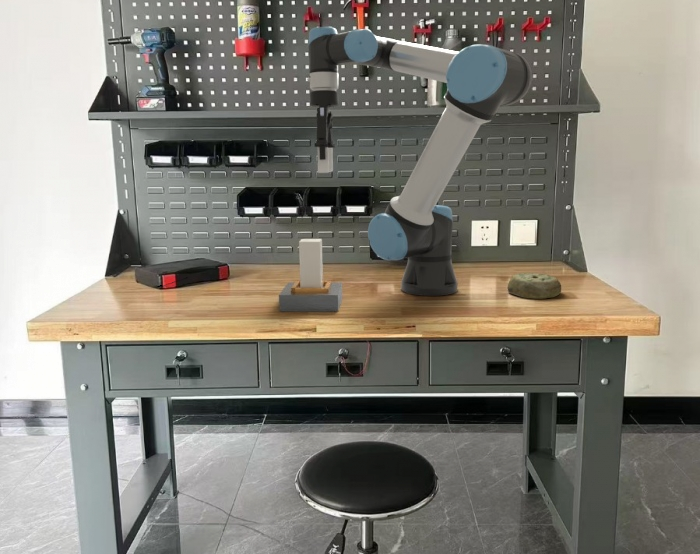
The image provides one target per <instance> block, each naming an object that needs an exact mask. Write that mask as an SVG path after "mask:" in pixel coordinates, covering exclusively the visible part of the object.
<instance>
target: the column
mask: <svg viewBox="0 0 700 554" xmlns="http://www.w3.org/2000/svg"><path fill="white" fill-rule="evenodd" d="M298 248H299V249H298V250H299V252H298V253H299V256H298V257H299V281H300V288H322V287H323V281H324V275H323V274H324V272H323V270H324V269H323V267H324V266H323V238H300V240H299V241H298Z"/></svg>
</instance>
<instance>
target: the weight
mask: <svg viewBox="0 0 700 554" xmlns="http://www.w3.org/2000/svg"><path fill="white" fill-rule="evenodd" d="M507 292H508V293H509V294H511V295H515V296H517V297H519V298H523V299H535V300H544V299H549V298H552V299H553V298H555V297H557V296H558V295H560V294H561V293H562V284H561V282H560V281H559V279H558V278H557V277H555V276H554V275H549V274H545V273H537V272H536V273H535V272H534V273H533V272H523V273H516V274H514V275H512V276H511V277H510V279H509V280H508V283H507Z"/></svg>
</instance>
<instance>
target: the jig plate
mask: <svg viewBox="0 0 700 554" xmlns="http://www.w3.org/2000/svg"><path fill="white" fill-rule="evenodd" d="M342 300H343V282H333V281H332V280H323V287H322V288H300V280H295V282H287V284H286V285H285V286H284V288H283V289H282V290H281V291H280V293H279V294H278V306H279V307H278V309H279V312H311V313H312V312H314V313H315V312H316V313H317V312H319V313H320V312H329V313H330V311H333V312H332V313H335V312H334V311H338V312H339V310H340V307H341V303H342Z"/></svg>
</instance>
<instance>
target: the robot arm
mask: <svg viewBox="0 0 700 554" xmlns="http://www.w3.org/2000/svg"><path fill="white" fill-rule="evenodd" d="M307 48H308V59H309V60H308V61H309V62H308V65H309V66H308V67H309V77H307V79H306V80H307V82H309V88H310V90H312V91H310V93H309V102H310V104H309V105H310V106H311V107H316V108H317V109H316V141H315V142H314V148H317V174H329V172H333V171H334V161H333V160H334V157H333V155H334V154H333V148H336V143H334V142H333V117H334V115H333V113H332V111H331V109H330V107H333V108H334V107H337V106H339V92H338V91H337V90H339V66H341V65H349V64H354V65H361V66H366V67H367V66H368V67H374V68H378V69H384V70H389V71H393V72H398V73H403V74H407V75H411V76H416V77H418V78H424V79H429V80H432V81H437V82H441V83H445V84H446V88H447V90H446V92H445V93H444V96H443V99H444V102H445V105H446V107H445V108H444V110H443V112H442V115H441V116H440V118H439V120H438V122H437V124H436V126H435V128H434V129H433V131H432V134H431V136H430V137H429V140H428V141H427V143H426V146H425V147H424V149H423V151H422V153H421V155H420V156H419V159H418V160H417V163H416V165H415V167H414V168H413V170H412V172H411V174H410V175H409V177H408V180H407V182H406V184H405V186H404V188H403V190H402V192H401V193H400V195H398V196H393V197H391V199H390V201H389V203H388V204H387V207H386V208H385V211H384V212H382V213H378V214H377V215H374V217H373V218H372V219H371V220H370V222H369V224H368V228H367V238H368V240H369V245H370V247H371V249H372V251H373V252H374V253H375V255H376V256H378V257H379V258H380V259H383V260H384V261H400V260H402V259H407V264H406V267H405V270H404V271H403V272H404V273H403V276H402V277H401V278H402V279H401V281H400V290H401V291H402V292H403V293H406V294H409V295H417V296H427V297H431V296H433V297H436V296H437V297H438V296H447V295H452V294H454V293H456V292H457V291H458V286H459V285H458V280H457V276H456V272H455V270H454V267H453V263H452V249H453V248H452V247H453V223H454V219H453V209H451V207H450V206H447V205H437V203H438V202H439V199H440V198H441V196H442V194H443V193H444V191H445V189H446V188H447V186H448V183H449V182H450V180H451V178H452V177H453V175H454V174H455V171H456V169H457V168H458V166H459V165H460V163H461V161H462V159H463V157H464V155H465V154H466V152H467V150H468V148H469V146H470V144H472V141H473V140H474V138H475V136H476V134H477V132H478V131H479V129H480V127H481V126H482V125H483V124H486V123H490V122H491V121H492V120H493V118H494V116H495V115H496V113H497V111H498V109H499V107H504V106H505V107H506V106H510V105H513V104H515V103H517V102H519V101H520V100H521V99H523V98H524V97H525V95H526V94H527V93H528V91H529V90H530V87H531V84H532V81H533V79H532V77H533V73H532V69H531V66H530V64H529V61H528V60H527V59H526V58H525V57H523V55H521V54H519V53H518V52H514V51H511V50H507V49H503V48H499V47H497V46H494V45H492V44H491V45H490V44H472V45H469V46H466V47H464V48H462V49H461V50H460V51H455V50H451V49H450V50H449V49H444V48H440V47H435V46H429V45H424V44H420V43H412V42H407V41H402V40H396V39H393V38H388V37H381V36H377V35H376V34H374V33H373V32H372V30H371V29H367V28H363V29H359V28H357V29H352V30H350V31H344V32H339V33H338V31H337V29H336V28H335V27H331V26H317V27H316V26H315V27H313V28H311V29H310V30H309V33H308V45H307Z"/></svg>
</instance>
